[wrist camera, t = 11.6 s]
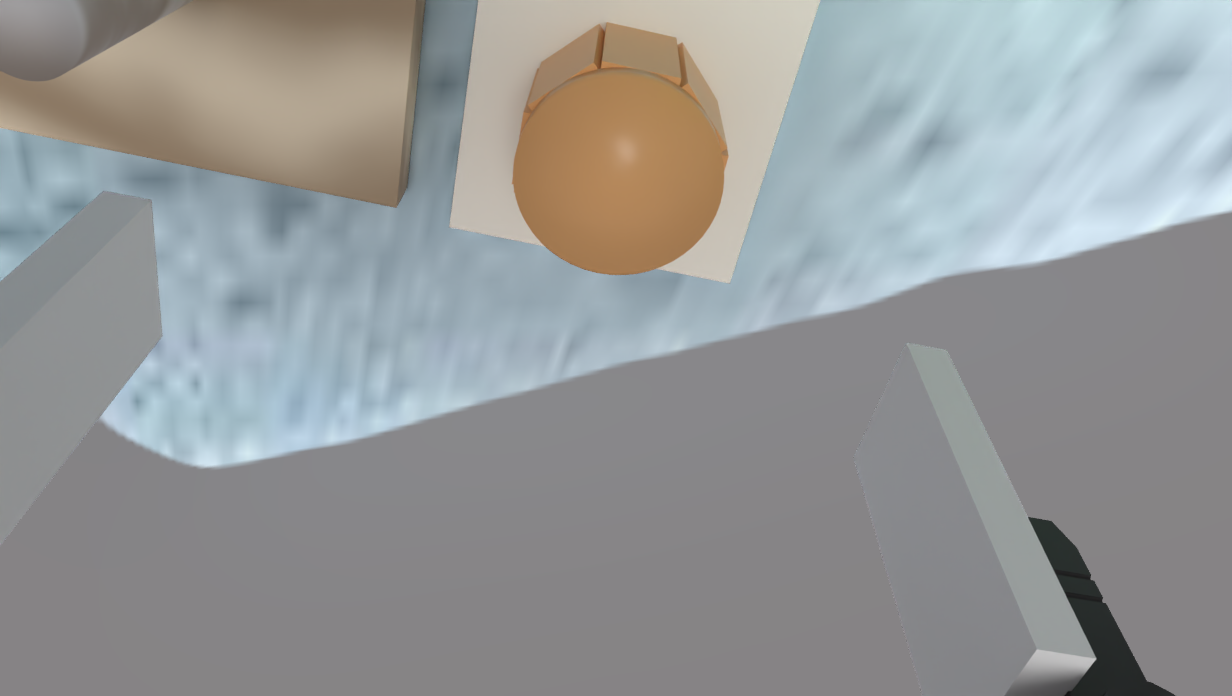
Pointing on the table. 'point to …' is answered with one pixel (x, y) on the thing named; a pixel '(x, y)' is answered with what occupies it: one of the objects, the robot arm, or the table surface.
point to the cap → (620, 152)
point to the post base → (224, 85)
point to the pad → (661, 3)
